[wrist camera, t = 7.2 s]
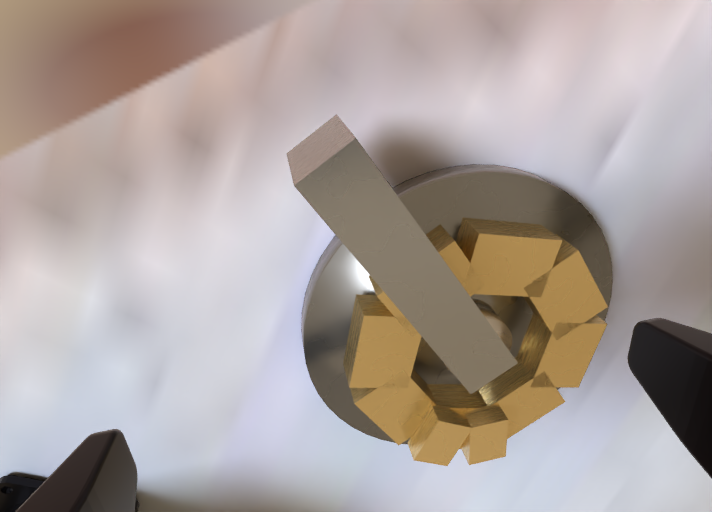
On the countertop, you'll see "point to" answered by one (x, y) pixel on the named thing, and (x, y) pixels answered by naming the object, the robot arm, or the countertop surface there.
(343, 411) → the round metal dish
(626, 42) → the countertop surface
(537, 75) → the countertop surface
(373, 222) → the tan curved piece
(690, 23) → the countertop surface
